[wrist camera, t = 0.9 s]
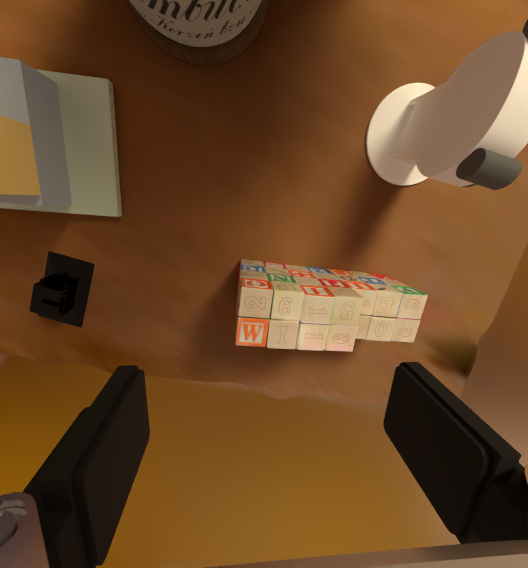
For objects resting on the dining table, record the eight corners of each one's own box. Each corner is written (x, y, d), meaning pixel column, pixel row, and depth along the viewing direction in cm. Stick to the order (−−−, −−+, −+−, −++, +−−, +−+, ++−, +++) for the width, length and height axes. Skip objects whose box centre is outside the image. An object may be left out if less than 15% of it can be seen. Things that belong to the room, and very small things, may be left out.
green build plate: (-55, 61, 27) (-67, 56, 26) (112, 83, 29) (107, 78, 28) (-23, 205, 31) (-33, 205, 30) (122, 216, 33) (118, 216, 32)
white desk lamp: (428, 200, 36) (551, 201, 22) (351, 177, 35) (432, 162, 20) (468, 101, 33) (642, 28, 19) (386, 70, 31) (510, -37, 17)
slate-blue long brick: (-8, 75, 27) (-60, 49, 22) (57, 83, 28) (20, 59, 23) (14, 200, 31) (-26, 200, 26) (71, 204, 31) (42, 205, 27)
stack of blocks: (386, 273, 39) (449, 305, 28) (375, 313, 41) (431, 358, 29) (239, 258, 36) (240, 286, 25) (235, 301, 38) (234, 346, 27)
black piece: (87, 335, 38) (68, 353, 34) (31, 321, 37) (3, 338, 32) (105, 254, 35) (85, 262, 31) (44, 235, 34) (14, 241, 29)
